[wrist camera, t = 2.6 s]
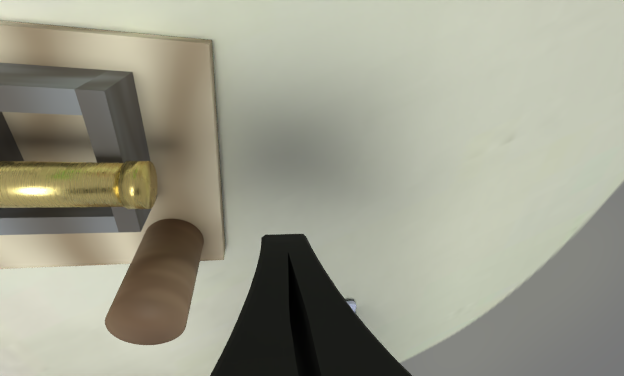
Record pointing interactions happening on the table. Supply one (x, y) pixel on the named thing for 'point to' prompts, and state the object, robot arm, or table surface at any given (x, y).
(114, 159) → the dock
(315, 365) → the robot arm
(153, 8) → the table surface
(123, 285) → the peg
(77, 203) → the pin
